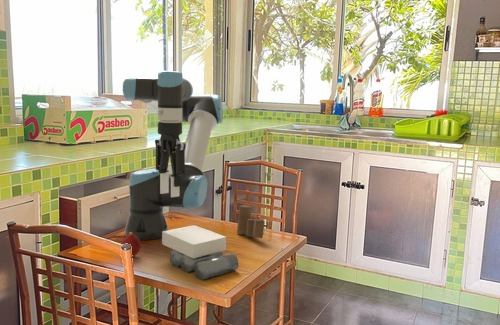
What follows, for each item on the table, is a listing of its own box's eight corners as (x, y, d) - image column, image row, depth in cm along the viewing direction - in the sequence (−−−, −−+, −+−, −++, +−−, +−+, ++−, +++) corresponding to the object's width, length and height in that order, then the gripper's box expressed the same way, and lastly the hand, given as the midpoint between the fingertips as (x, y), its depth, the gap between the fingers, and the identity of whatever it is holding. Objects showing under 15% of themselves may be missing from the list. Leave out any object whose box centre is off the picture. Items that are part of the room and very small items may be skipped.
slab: (162, 244, 147) (162, 231, 146) (194, 237, 155) (194, 224, 154) (193, 258, 135) (193, 244, 135) (226, 249, 143) (226, 236, 143)
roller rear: (167, 252, 145) (176, 248, 141) (200, 244, 153) (208, 240, 149) (172, 268, 144) (180, 265, 140) (204, 259, 152) (213, 256, 148)
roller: (205, 282, 132) (195, 277, 135) (238, 271, 140) (227, 268, 143) (205, 264, 131) (194, 260, 135) (238, 255, 139) (227, 251, 143)
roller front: (179, 268, 141) (180, 252, 140) (212, 260, 149) (213, 244, 148) (189, 275, 137) (190, 258, 136) (222, 265, 145) (223, 250, 144)
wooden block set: (267, 243, 168) (270, 214, 167) (243, 242, 166) (246, 212, 165) (255, 229, 185) (258, 203, 184) (233, 228, 183) (236, 201, 182)
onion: (133, 252, 153) (133, 228, 152) (144, 257, 150) (144, 232, 149) (117, 257, 149) (117, 232, 148) (129, 261, 145) (129, 236, 144)
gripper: (143, 119, 153) (144, 191, 157) (177, 124, 140) (176, 202, 144) (163, 119, 159) (163, 188, 162) (197, 123, 145) (196, 198, 149)
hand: (169, 194), depth 153 cm, fingers open, 5 cm apart
